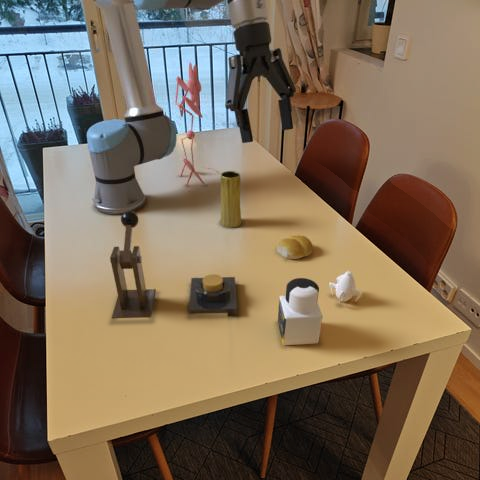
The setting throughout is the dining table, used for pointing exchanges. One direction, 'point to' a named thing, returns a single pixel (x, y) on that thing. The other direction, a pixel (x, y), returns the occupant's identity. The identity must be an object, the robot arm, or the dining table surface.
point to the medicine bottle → (300, 313)
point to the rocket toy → (345, 287)
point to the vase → (230, 199)
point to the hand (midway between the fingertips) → (268, 135)
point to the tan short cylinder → (212, 283)
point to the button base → (213, 298)
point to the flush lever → (127, 238)
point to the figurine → (194, 90)
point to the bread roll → (295, 247)
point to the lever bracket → (131, 300)
